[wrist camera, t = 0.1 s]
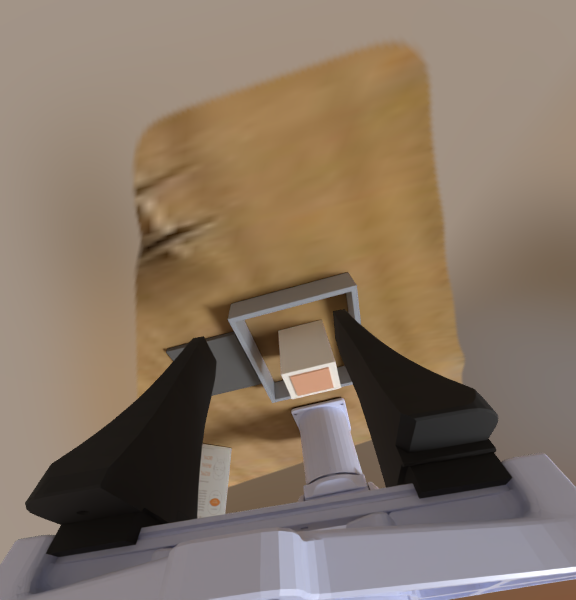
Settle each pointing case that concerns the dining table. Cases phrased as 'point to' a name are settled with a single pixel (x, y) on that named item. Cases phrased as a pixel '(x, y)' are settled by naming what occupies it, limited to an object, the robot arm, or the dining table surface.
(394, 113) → the dining table surface
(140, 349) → the dining table surface
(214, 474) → the small box
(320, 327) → the block
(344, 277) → the grey rectangular frame
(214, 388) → the mat
